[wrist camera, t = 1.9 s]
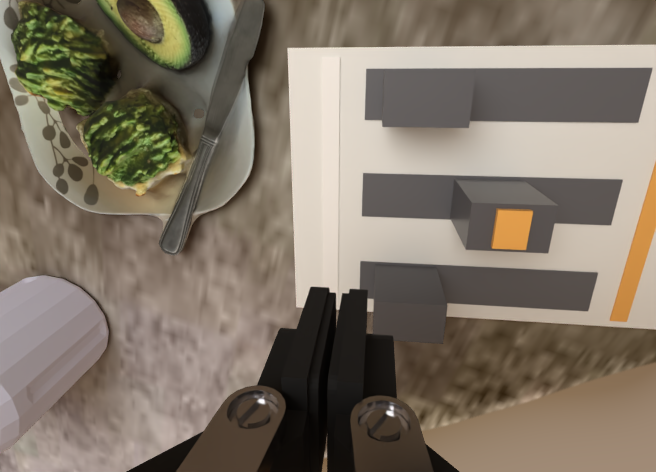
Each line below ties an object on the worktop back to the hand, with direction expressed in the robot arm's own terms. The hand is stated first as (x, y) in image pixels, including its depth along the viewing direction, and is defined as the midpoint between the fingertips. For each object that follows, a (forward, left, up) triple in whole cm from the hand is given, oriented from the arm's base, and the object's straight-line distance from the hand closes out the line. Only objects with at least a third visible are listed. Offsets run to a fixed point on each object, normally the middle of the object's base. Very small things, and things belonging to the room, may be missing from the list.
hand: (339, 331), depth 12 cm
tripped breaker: (-8, 0, -15) cm, 17 cm away
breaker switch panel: (-8, 0, -17) cm, 19 cm away
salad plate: (+15, -6, -18) cm, 24 cm away
